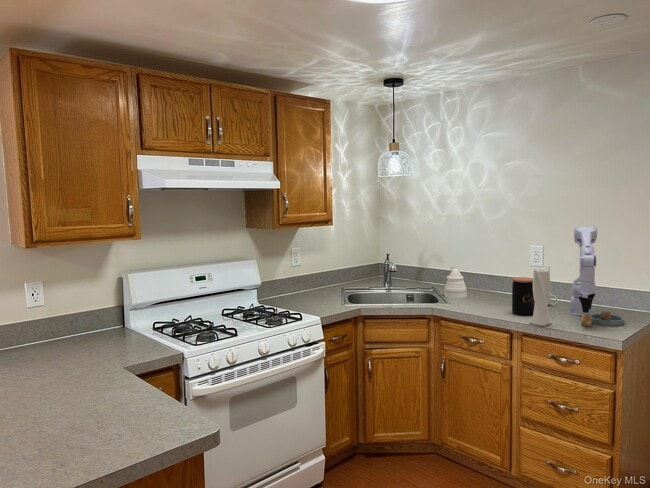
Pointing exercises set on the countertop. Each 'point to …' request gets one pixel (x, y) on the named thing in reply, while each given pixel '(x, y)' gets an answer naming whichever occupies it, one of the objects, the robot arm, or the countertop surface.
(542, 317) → the skyscraper
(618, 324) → the ring dish
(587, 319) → the oak bead
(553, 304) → the mug
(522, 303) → the coffee jar
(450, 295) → the honey pot
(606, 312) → the walnut bead
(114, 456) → the countertop surface
